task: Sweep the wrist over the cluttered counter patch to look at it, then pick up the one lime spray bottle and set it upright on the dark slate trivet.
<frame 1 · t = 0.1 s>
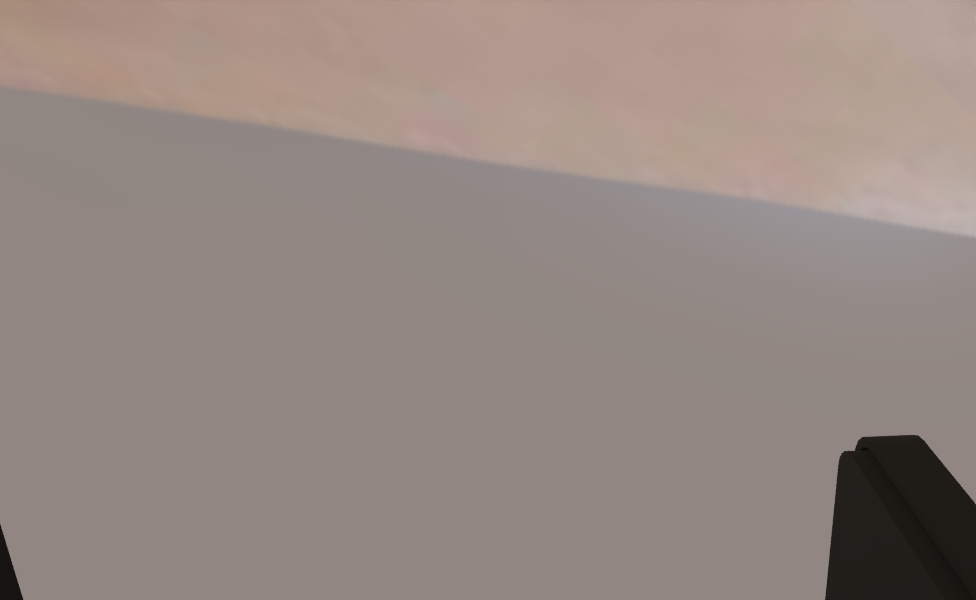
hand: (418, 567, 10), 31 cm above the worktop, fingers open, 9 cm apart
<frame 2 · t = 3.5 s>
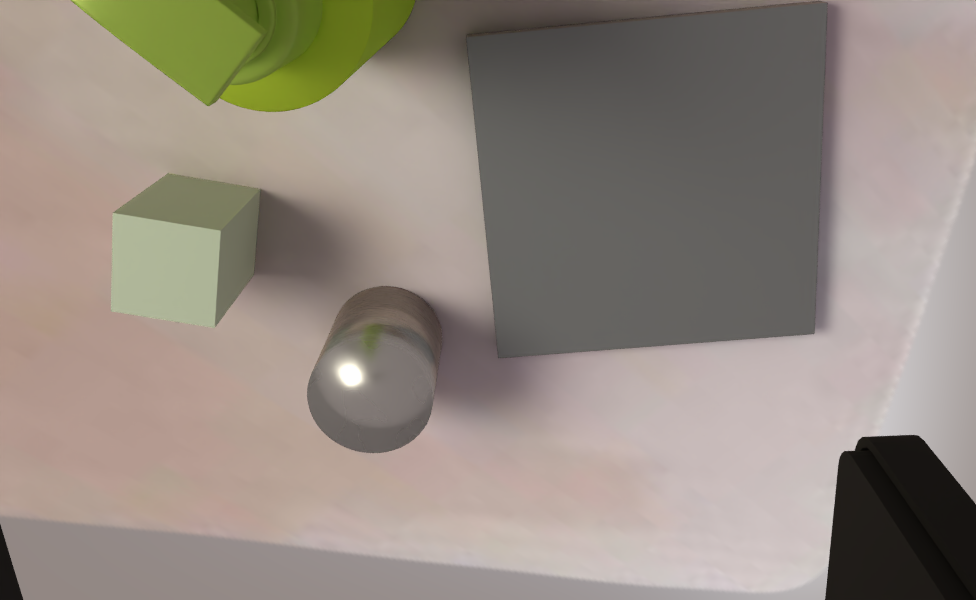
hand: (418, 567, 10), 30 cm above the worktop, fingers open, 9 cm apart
pale green box: (211, 224, 41), on the worktop
metal tin: (388, 337, 42), on the worktop
slate trivet: (646, 187, 39), on the worktop
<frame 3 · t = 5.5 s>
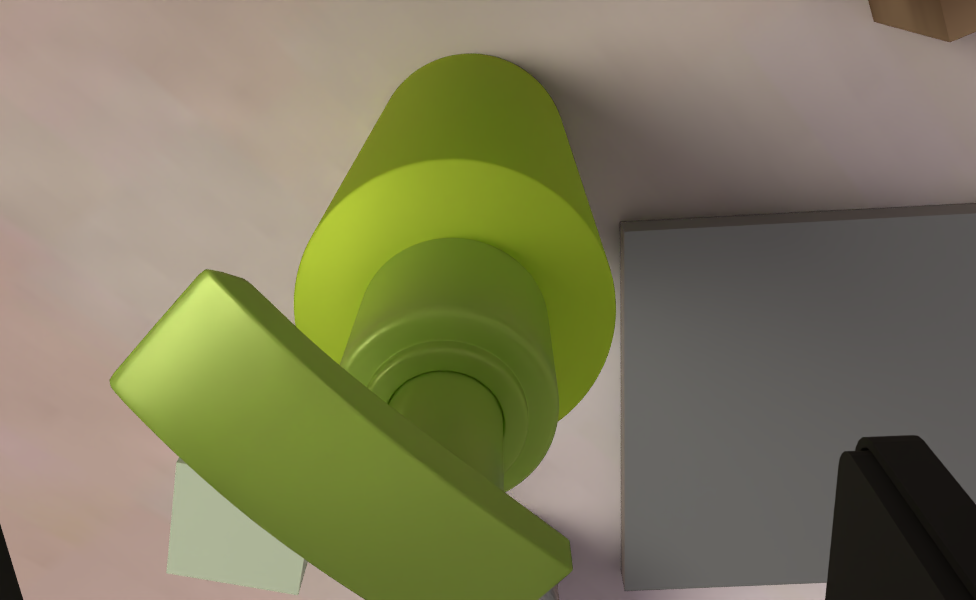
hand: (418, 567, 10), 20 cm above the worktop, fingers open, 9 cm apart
pale green box: (282, 427, 33), on the worktop
lime spray bottle: (459, 137, 29), on the worktop
slate trivet: (821, 402, 32), on the worktop
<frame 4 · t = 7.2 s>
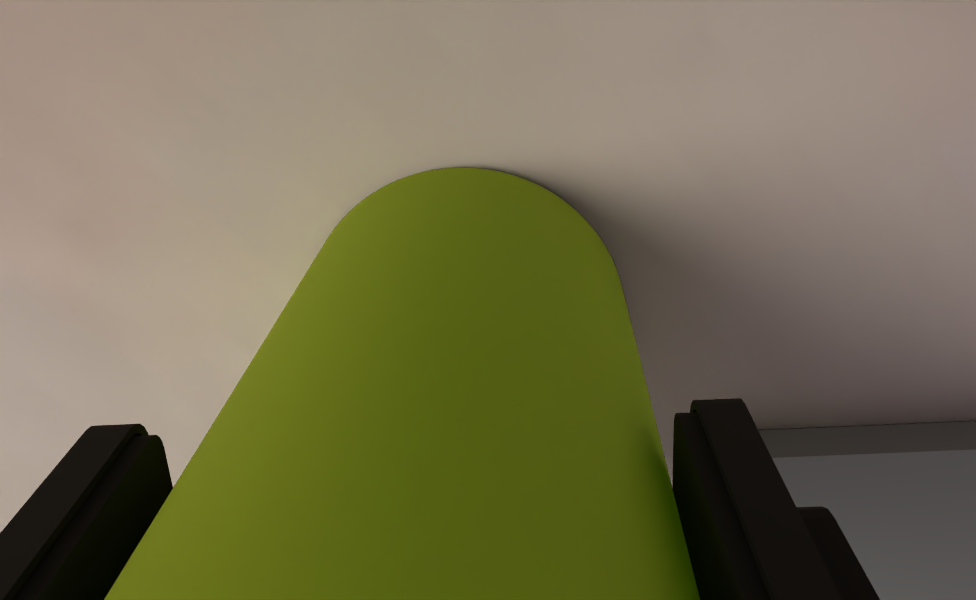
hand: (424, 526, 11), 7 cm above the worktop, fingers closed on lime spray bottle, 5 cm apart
lime spray bottle: (445, 299, 17), on the worktop, touching gripper
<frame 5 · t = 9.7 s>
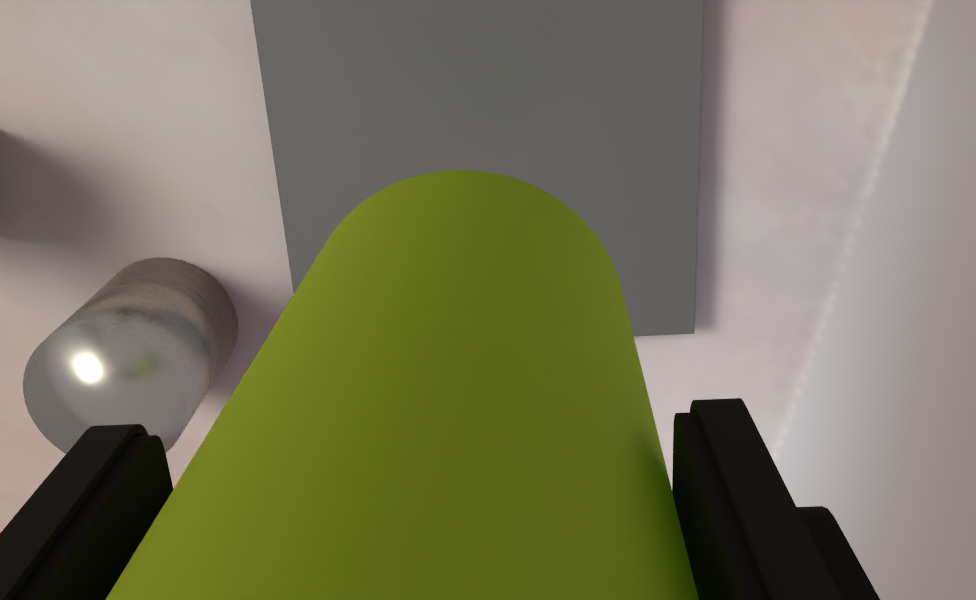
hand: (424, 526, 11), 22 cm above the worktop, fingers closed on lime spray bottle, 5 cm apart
metal tin: (170, 321, 34), on the worktop
lime spray bottle: (445, 301, 17), point 15 cm above the worktop, touching gripper
slate trivet: (485, 142, 31), on the worktop
when the fingers open (9 cm above the worktop, at t = 12.6 s): lime spray bottle drops 1 cm, resting on slate trivet.
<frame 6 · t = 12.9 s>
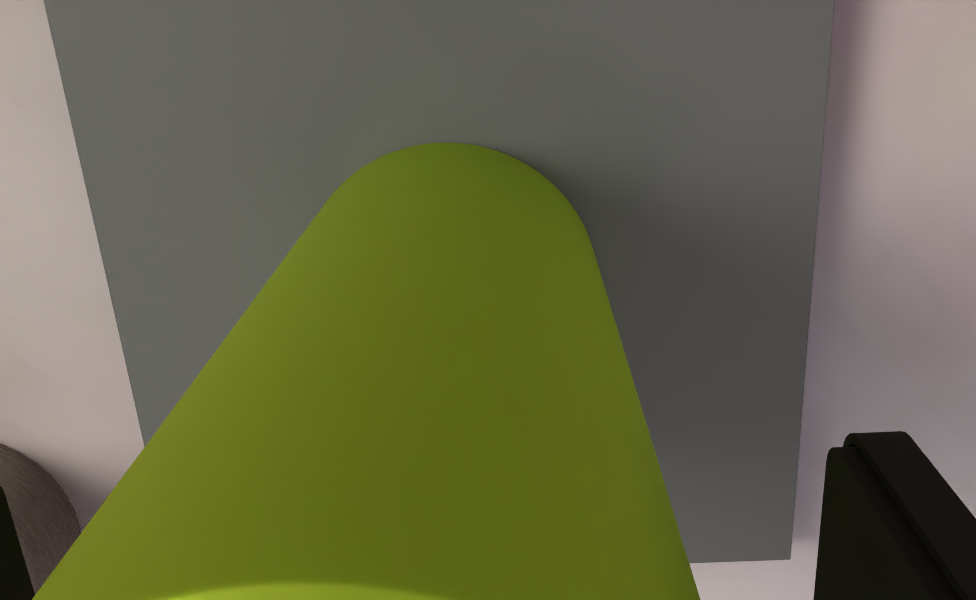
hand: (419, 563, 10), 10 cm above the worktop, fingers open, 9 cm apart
lime spray bottle: (430, 269, 18), point 1 cm above the worktop, touching slate trivet
slate trivet: (459, 266, 19), on the worktop
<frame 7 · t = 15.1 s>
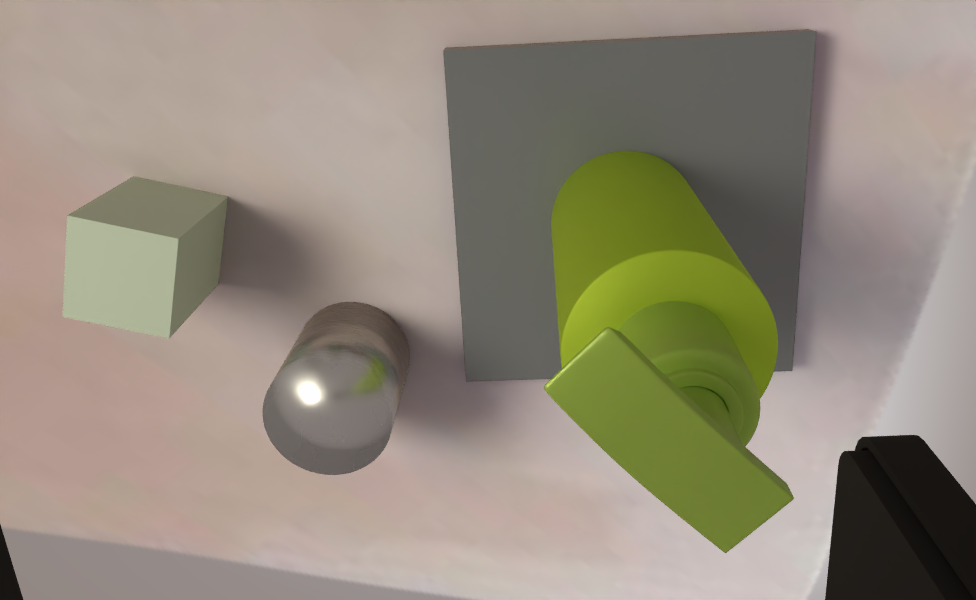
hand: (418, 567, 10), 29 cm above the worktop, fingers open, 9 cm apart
pale green box: (176, 231, 39), on the worktop
metal tin: (354, 354, 41), on the worktop
lime spray bottle: (614, 212, 37), point 1 cm above the worktop, touching slate trivet
slate trivet: (625, 213, 38), on the worktop
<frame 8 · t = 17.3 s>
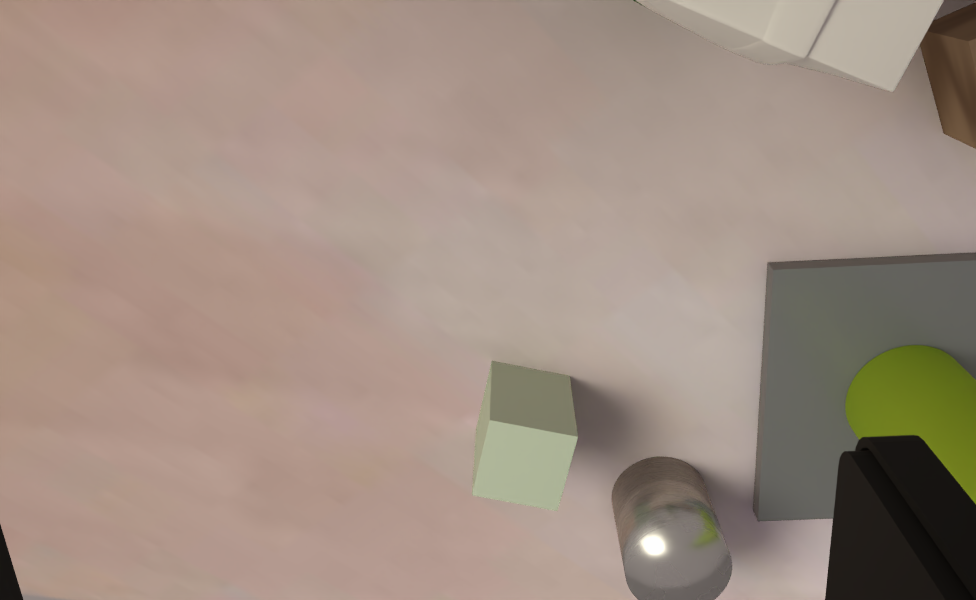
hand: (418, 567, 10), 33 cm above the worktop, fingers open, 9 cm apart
pale green box: (522, 402, 47), on the worktop
metal tin: (658, 497, 49), on the worktop
lime spray bottle: (897, 390, 45), point 1 cm above the worktop, touching slate trivet
slate trivet: (900, 387, 46), on the worktop
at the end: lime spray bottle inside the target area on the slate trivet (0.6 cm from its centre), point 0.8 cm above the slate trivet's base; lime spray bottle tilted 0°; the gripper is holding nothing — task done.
